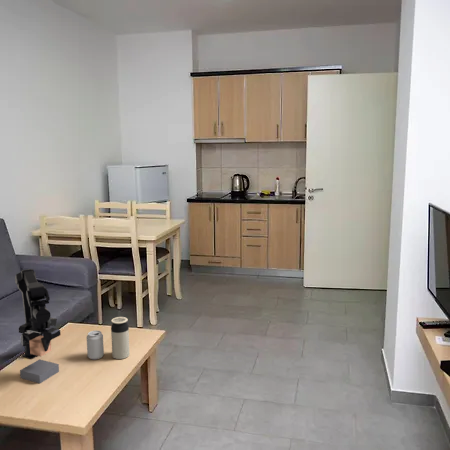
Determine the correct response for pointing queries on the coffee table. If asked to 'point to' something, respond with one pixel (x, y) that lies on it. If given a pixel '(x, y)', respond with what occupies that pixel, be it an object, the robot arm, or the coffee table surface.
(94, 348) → the can
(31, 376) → the charcoal box
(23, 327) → the robot arm
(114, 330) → the travel mug
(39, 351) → the terracotta cube
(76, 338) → the coffee table surface
